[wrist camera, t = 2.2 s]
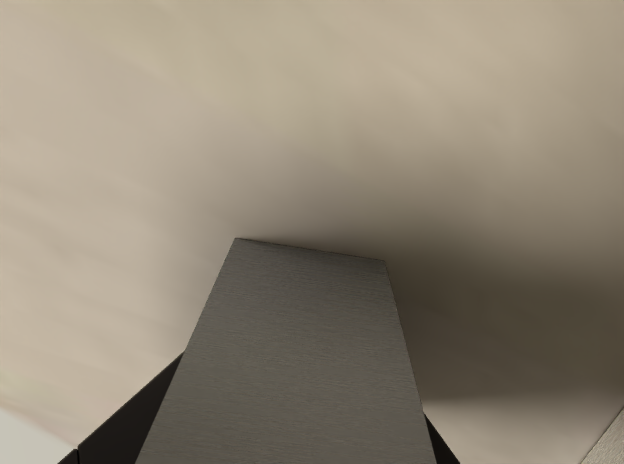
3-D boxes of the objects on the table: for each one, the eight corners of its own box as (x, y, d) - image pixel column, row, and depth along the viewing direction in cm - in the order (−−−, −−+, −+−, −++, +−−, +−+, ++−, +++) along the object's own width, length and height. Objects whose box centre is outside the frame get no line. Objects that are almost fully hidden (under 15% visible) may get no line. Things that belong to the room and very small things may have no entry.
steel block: (384, 260, 9) (453, 528, 4) (343, 405, 11) (356, 688, 6) (234, 237, 9) (124, 487, 4) (223, 389, 11) (144, 666, 6)
